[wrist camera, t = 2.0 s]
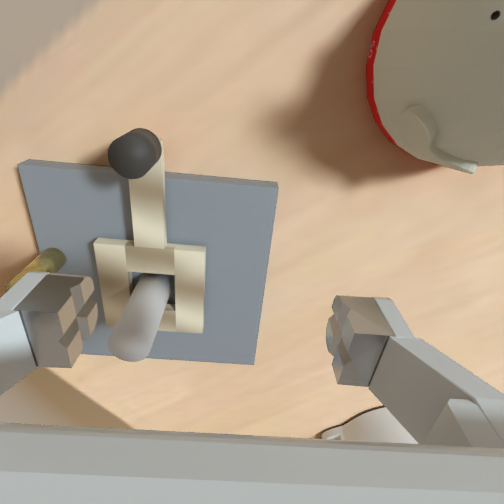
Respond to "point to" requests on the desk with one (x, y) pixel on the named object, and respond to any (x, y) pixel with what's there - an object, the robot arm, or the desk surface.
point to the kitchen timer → (440, 80)
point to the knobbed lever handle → (149, 240)
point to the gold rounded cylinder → (42, 264)
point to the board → (178, 232)
